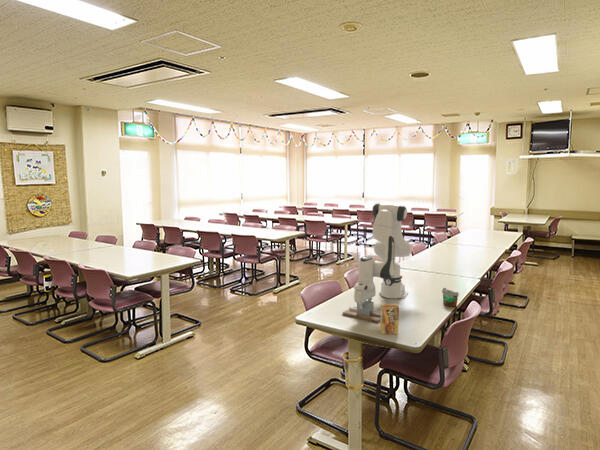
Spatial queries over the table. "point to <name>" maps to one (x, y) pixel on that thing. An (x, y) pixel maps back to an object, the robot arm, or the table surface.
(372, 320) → the rail board
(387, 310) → the candy box
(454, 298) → the food container
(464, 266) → the table surface
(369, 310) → the block
